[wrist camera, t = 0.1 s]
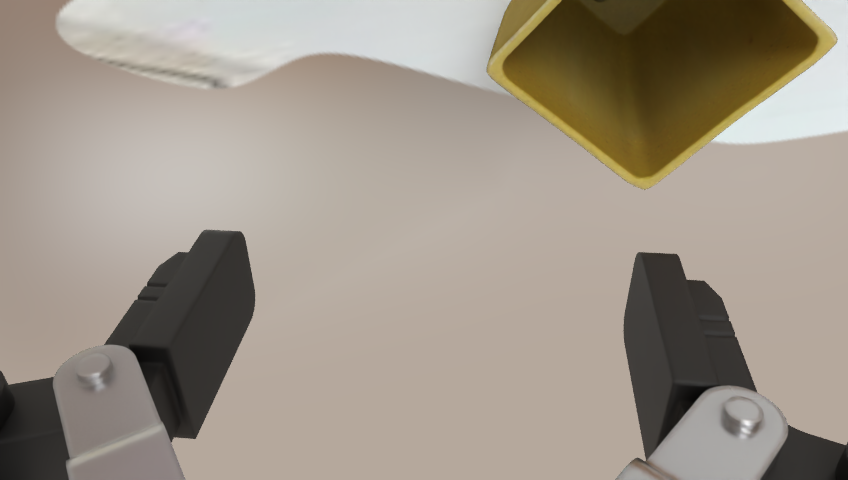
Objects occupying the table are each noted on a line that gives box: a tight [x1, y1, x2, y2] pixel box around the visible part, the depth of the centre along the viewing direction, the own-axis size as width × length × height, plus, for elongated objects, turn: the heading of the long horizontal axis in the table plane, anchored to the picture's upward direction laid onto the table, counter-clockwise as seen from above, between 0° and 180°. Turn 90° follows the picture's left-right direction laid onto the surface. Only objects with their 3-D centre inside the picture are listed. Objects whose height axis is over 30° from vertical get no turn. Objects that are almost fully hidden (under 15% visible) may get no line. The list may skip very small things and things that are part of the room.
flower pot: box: [487, 0, 838, 190], centre depth 28 cm, size 9×9×9 cm
